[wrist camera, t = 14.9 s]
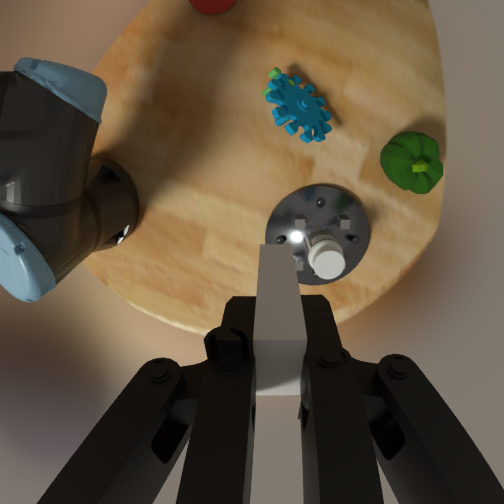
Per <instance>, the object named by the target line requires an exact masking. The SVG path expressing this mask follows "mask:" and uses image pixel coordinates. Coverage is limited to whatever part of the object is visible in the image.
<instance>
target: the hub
mask: <svg viewBox="0 0 504 504" xmlns="http://www.w3.org/2000/svg"><path fill="white" fill-rule="evenodd" d="M318 225H321V226H325V227H327V228H329V229H330V230H331V231H332V233H333V234H334V236H335V237H336V239H337V241H338V243H339V244H340V246H341V247H342V250H343V257H344V260H345V267H344V269H343V271H342V273H341V274H340V275H339V276H337V277H335V278H333V279H323V278H321V277H319V276H318V275H317V274H316V273H315V271H314V269H313V268H312V267H311V266H310V264H309V261H308V258H307V254H306V251H305V247H304V243H303V240H304V236H305V234H306V232H307V231H308V230H309V229H310V228H312V227H314V226H318ZM368 240H369V227H368V222H367V219H366V216H365V213H364V212H363V210H362V208H361V207H360V205H359V204H358V203H357V202H356V201H355V200H354V199H353V198H352V197H351V196H349V195H348V194H347V193H345V192H343V191H342V190H339V189H337V188H334V187H330V186H322V185H317V186H309V187H304V188H301V189H298V190H296V191H294V192H292V193H291V194H289V195H288V196H286V197H285V198H284V199H283V200H281V201H280V203H279V204H278V205H277V206H276V207H275V209H274V210H273V212H272V213H271V215H270V217H269V220H268V223H267V227H266V235H265V242H266V244H291V245H292V250H293V255H294V261H295V267H296V272H297V278H298V283H301V284H305V285H323V284H328V283H331V282H334V281H337V280H339V279H341V278H342V277H344V276H346V275H347V274H348V273H350V272H351V271H352V270H353V269H354V268H355V267H356V266H357V265H358V263H359V262H360V260H361V259H362V257H363V255H364V253H365V251H366V248H367V245H368Z"/></svg>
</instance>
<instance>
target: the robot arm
mask: <svg viewBox="0 0 504 504" xmlns="http://www.w3.org/2000/svg"><path fill="white" fill-rule="evenodd" d="M13 69H14V71H10V72H9V71H7V72H5V71H0V283H1V285H2V286H3V287H4V288H5V289H6V290H7V291H9V293H10V294H12V295H13V296H15V297H16V298H18V299H20V300H22V301H25V302H34V301H37V300H39V299H40V298H41V297H43V296H44V295H45V294H46V293H48V292H49V291H52V290H53V289H54V288H55V286H56V285H57V284H58V283H59V282H60V281H61V280H62V279H63V278H64V277H65V276H66V275H67V274H69V273H70V271H72V270H73V269H74V268H75V267H76V266H77V265H78V264H79V263H81V262H82V261H83V260H84V259H85V258H86V257H88V256H89V255H90V254H91V253H92V252H96V251H101V250H105V249H109V248H112V247H115V246H117V245H118V244H120V243H121V242H122V241H123V240H124V239H126V238H127V237H128V236H129V235H130V233H131V232H132V231H133V229H134V227H135V225H136V222H137V218H138V212H139V202H138V195H137V191H136V188H135V186H134V184H133V181H132V180H131V178H130V176H129V175H128V174H127V172H126V171H125V170H124V169H123V168H122V167H121V166H119V165H118V164H116V163H115V162H113V161H110V160H107V159H100V158H99V159H93V160H90V159H91V154H92V150H93V146H94V142H95V138H96V135H97V131H98V128H99V124H101V122H102V120H101V115H102V111H103V107H104V103H105V100H106V96H107V87H106V84H105V82H104V81H103V80H102V79H101V78H99V77H97V76H95V75H93V74H91V73H88V72H85V71H83V70H79V69H77V68H74V67H71V66H67V65H64V64H60V63H55V62H51V61H46V60H43V61H42V60H39V59H33V58H21V59H19V60H18V62H17V63H16V64H15V65H14V68H13ZM204 344H205V349H206V353H207V358H208V359H207V360H205V361H203V362H201V363H198V364H194V365H189V366H183V367H180V366H179V365H178V363H177V362H175V361H173V360H172V359H169V358H157V359H153V360H150V361H148V362H146V363H145V364H144V365H143V366H142V367H141V368H140V369H139V371H138V372H137V373H136V374H135V376H134V377H133V378H132V379H131V381H130V382H129V383H128V384H127V386H126V387H125V388H124V390H123V391H122V392H121V394H120V395H119V396H118V397H117V399H116V400H115V401H114V403H113V404H112V405H111V406H110V407H109V409H108V410H107V411H106V413H105V414H104V415H103V417H102V418H101V419H100V420H99V422H98V423H97V424H96V425H95V427H94V428H93V429H92V431H91V432H90V433H89V435H88V436H87V437H86V438H85V440H84V441H83V442H82V444H81V445H80V446H79V448H78V449H77V450H76V452H75V453H74V454H73V456H72V457H71V458H70V459H69V461H68V462H67V464H66V465H65V466H64V467H63V469H62V470H61V471H60V473H59V474H58V475H57V477H56V478H55V479H54V481H53V482H52V483H51V485H50V486H49V488H48V489H47V490H46V492H45V493H44V494H43V496H42V497H41V498H40V500H39V501H38V503H37V504H152V503H153V502H154V500H155V498H156V497H157V495H158V493H159V491H160V490H161V488H162V486H163V484H164V483H165V481H166V479H167V477H168V475H169V474H170V472H171V470H172V468H173V467H174V465H175V463H176V461H177V460H178V458H179V456H180V454H181V452H182V451H183V449H184V447H185V445H186V443H187V441H188V440H189V444H188V448H187V453H186V458H185V462H184V466H183V471H182V476H181V481H180V485H179V490H178V495H177V500H176V504H250V494H251V479H252V464H253V448H254V433H255V414H256V401H255V400H256V395H299V394H300V391H301V404H300V409H299V414H298V419H300V421H301V440H302V463H303V492H304V493H303V495H304V504H384V501H383V494H382V488H381V482H380V476H379V471H378V465H377V461H378V463H379V465H380V466H381V468H382V471H383V473H384V475H385V477H386V479H387V481H388V482H389V485H390V486H391V488H392V491H393V492H394V495H395V497H396V498H397V501H398V503H399V504H504V489H503V488H502V486H501V485H500V483H499V481H498V479H497V478H496V476H495V474H494V473H493V471H492V470H491V468H490V467H489V465H488V463H487V462H486V460H485V459H484V457H483V456H482V454H481V452H480V451H479V450H478V448H477V446H476V445H475V444H474V442H473V440H472V439H471V438H470V436H469V435H468V433H467V432H466V430H465V429H464V427H463V426H462V425H461V423H460V422H459V421H458V419H457V418H456V416H455V415H454V413H453V412H452V411H451V409H450V408H449V407H448V405H447V404H446V403H445V401H444V400H443V398H442V397H441V396H440V394H439V393H438V392H437V391H436V389H435V388H434V387H433V385H432V384H431V383H430V381H429V380H428V379H427V378H426V377H425V375H424V374H423V372H422V371H421V370H420V369H419V367H418V366H417V365H416V364H415V362H413V361H412V360H411V359H410V358H408V357H406V356H404V355H400V354H392V355H387V356H385V357H383V358H382V359H381V360H380V362H379V363H378V364H375V363H369V362H363V361H359V360H356V359H354V358H352V357H351V355H350V354H349V352H348V351H347V350H345V349H344V348H343V347H342V344H341V340H340V337H339V333H338V330H337V326H336V323H335V319H334V316H333V313H332V309H331V306H330V303H329V301H328V300H327V299H326V298H325V297H324V296H323V295H300V290H299V284H298V278H297V272H296V267H295V261H294V255H293V250H292V245H291V244H260V255H259V269H258V282H257V295H256V296H233V297H232V298H231V299H230V300H229V301H228V302H227V303H226V306H225V310H224V314H223V319H222V323H221V326H220V327H217V328H214V329H212V330H211V331H210V332H208V333H207V335H206V336H205V338H204ZM189 438H190V439H189ZM376 459H377V460H376Z"/></svg>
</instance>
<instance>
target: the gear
mask: <svg viewBox="0 0 504 504" xmlns="http://www.w3.org/2000/svg"><path fill="white" fill-rule="evenodd" d="M280 73H281V70H280V69H279V68H277V67H275V68H274V69H273V70H272V71H271V72H270V73H269V74H268V75H269V77H270V78H272V80H271V81H270V82H269V83H268V84H267V85H268V88H266V89H265V90H264V91H263V92H262V94H263V95H264V96H266V100H267V101H268V102H270V103H275V104H277V105H279V106H280V107H276V108H274V109H273V110H272V114H273V117H274V119H276V120H275V124H276V125H277V126H281V125H282V124H284V123H285V122H286V121H288V120H289V119H291V120H292V121H293V122H290V123H288V124H287V125H286V126H285V127H284V128H285V130H286V131H287V132H288V133H289V134H290V135H292V134H294V133H296V132H297V131H298V127H299V126H302V127H303V128H304V131H305V132H304V133H303V134H301V135H300V139H301V140H302V141H304V142H306V143H309V142H311V141H312V140H313V138H314V140H315V141H316V142H320V141H323V140H325V135H324V134H326V133H328V132H330V131H331V130H332V128H331V126H330V125H329V124H327V123H326V122H327V121H329V120H330V119H331V114H330V112H328V111H325V110H323V109H322V108H320V107H322V106H323V105H325V101H324V99H323V97H318V98H316V97H313V96H311V95H310V94H311V93H312V92H314V91H315V89H314V87H313V86H312V85H311V84H307V85H306V86H305V87H304V89H301V88H300V87H299V86H298V84H300V83H301V82H302V79H301V78H299V77H298V76H296V75H294V76H293V77H292V78H290V79H289V77H288V75H286V74H280ZM279 74H280V75H279ZM282 108H283V109H284V110H283V109H282ZM312 129H313V130H314V135H313V136H312Z"/></svg>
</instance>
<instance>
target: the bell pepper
mask: <svg viewBox="0 0 504 504" xmlns="http://www.w3.org/2000/svg"><path fill="white" fill-rule="evenodd" d="M439 155H440V152H439V147H438V143H437V142H436V141H435V140H434V139H432V138H430V137H429V136H427V135H425V134H424V133H418V132H403V133H400V134H398V135H397V136H395V137H394V138H392V139H391V140H390V141H389V144H388V145H385V146H384V148H383V150H382V151H381V154H380V164H381V166H382V168H383V170H384V172H385V174H386V176H387V177H388V178H389V179H390V180H391V181H392V182H393V183H395V184H396V185H397V186H398V187H400V188H402V189H403V190H408V189H409V190H410V191H412V192H414V193H416V194H427V193H429V192H430V191H431V190H432V188H433V187H434V186H435V185H436V184H437V183H438V181H439V180H440V179H441V177H442V176H443V164H442V163H441V162H440V161H439V160H438V158H439Z"/></svg>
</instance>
